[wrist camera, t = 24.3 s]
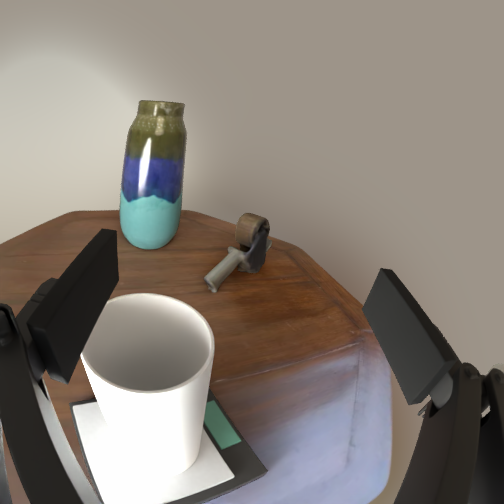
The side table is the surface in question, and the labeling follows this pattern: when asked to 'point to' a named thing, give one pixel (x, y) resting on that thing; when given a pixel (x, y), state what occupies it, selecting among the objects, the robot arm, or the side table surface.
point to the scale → (166, 487)
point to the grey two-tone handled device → (243, 250)
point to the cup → (152, 378)
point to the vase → (153, 175)
